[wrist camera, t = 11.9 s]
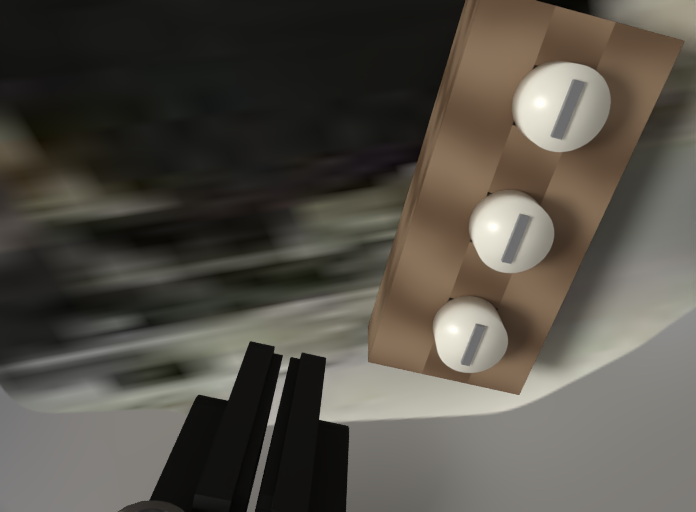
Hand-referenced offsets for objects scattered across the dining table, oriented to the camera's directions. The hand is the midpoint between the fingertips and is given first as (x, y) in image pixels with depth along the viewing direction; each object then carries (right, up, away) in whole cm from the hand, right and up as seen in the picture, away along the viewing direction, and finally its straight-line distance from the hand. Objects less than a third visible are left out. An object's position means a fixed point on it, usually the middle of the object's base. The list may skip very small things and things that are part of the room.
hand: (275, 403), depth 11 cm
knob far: (+10, 0, +30) cm, 32 cm away
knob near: (+14, +14, +24) cm, 31 cm away
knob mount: (+12, +7, +28) cm, 32 cm away
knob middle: (+12, +7, +27) cm, 30 cm away
